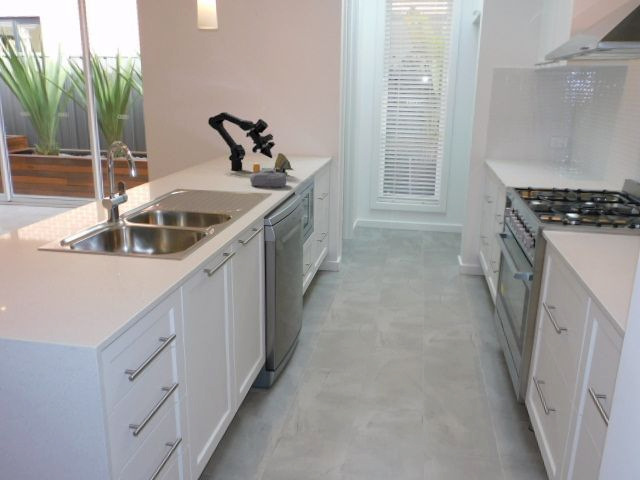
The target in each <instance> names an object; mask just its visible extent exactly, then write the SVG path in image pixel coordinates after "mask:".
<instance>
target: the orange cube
mask: <svg viewBox="0 0 640 480" xmlns="http://www.w3.org/2000/svg"><path fill="white" fill-rule="evenodd" d="M252 168H253V169H252V170H253V172H252V173H259V172H260V168H261V163H256V162H255V163H253V167H252Z"/></svg>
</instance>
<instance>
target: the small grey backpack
mask: <svg viewBox="0 0 640 480" xmlns="http://www.w3.org/2000/svg"><path fill="white" fill-rule="evenodd" d="M286 175H287V174H286ZM286 175H285V174H282V173H278V172H276V171H275V172H273V171H265V172H254V173H253V174H252V175H251V176H250V179H249V181H250V183H251V186H253V187H258V188H265V187H270V188H269V189H278V188H279V189H281V188H282V189H283V188H285V187H286V185H287V176H286Z"/></svg>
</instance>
